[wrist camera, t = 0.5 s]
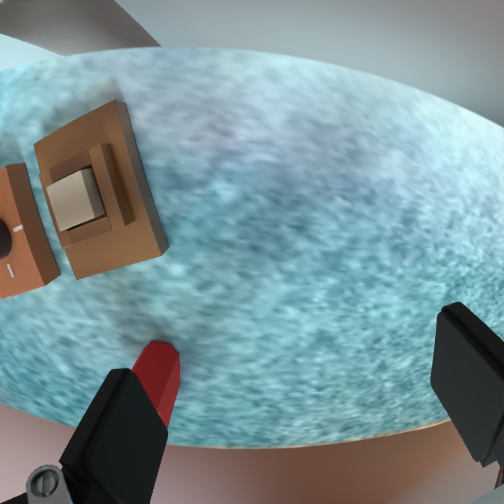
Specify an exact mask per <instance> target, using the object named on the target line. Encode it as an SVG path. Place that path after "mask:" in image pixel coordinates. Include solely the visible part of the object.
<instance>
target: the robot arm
mask: <svg viewBox="0 0 504 504" xmlns="http://www.w3.org/2000/svg"><path fill="white" fill-rule="evenodd" d="M430 382H431V386H432V388H433V390H434V392H435V393H436V395H437V397H438V398H439V400H440V402H441V403H442V405H443V407H444V408H445V410H446V412H447V413H448V415H449V417H450V418H451V420H452V422H453V424H454V425H455V427H456V429H457V430H458V432H459V434H460V435H461V438H462V439H463V441H464V443H465V445H466V447H467V448H468V450H469V452H470V453H471V456H472V457H473V459H474V460H475V461H476V462H479V461H480V463H481V465H482V467H483V468H484V467H486V466H487V465H489V464H491V463H493V462H495V461H496V460H497V461H498V463H499V465H500V470H499V473H498V477H497V481H496V485H495V488H494V490H492V491H490V492H489V493H487V494H485V495H483V496H481V497H479V498H477V499H475V500H473V501H471V502H469V503H467V504H504V341H503V340H502V339H501V338H499V337H498V336H497V335H496V334H495V333H494V332H493V331H492V330H491V329H490V328H489V327H488V326H487V325H486V324H485V323H484V322H482V321H481V320H480V319H479V318H478V317H477V316H476V315H475V314H474V313H473V312H471V311H470V310H469V309H468V308H467V307H466V306H465V305H464V304H462V303H461V302H455V303H452V304H449V305H446V306H444V307H442V309H441V312H440V313H438V315H437V325H436V336H435V346H434V355H433V363H432V370H431V377H430ZM167 439H168V430H167V427H166V426H165V424H164V422H163V421H162V419H161V417H160V416H159V414H158V412H157V410H156V409H155V407H154V405H153V403H152V402H151V400H150V398H149V396H148V394H147V393H146V391H145V389H144V387H143V385H142V383H141V382H140V380H139V378H138V376H137V374H136V373H134V372H132V371H131V370H130V369H128V368H121V369H112V370H111V371H110V372H109V374H108V375H107V377H106V379H105V380H104V382H103V384H102V385H101V387H100V389H99V390H98V392H97V394H96V395H95V397H94V399H93V400H92V402H91V404H90V406H89V407H88V409H87V411H86V413H85V414H84V416H83V418H82V420H81V421H80V423H79V425H78V427H77V428H76V430H75V432H74V434H73V436H72V438H71V439H70V441H69V443H68V445H67V447H66V448H65V451H64V452H63V454H62V456H61V458H60V460H59V462H60V463H61V464H62V466H63V467H62V469H61V470H60V469H59V468H58V467H57V466H53V465H44V466H41V467H39V468H37V469H35V470H34V471H33V472H32V473H31V474H30V476H29V478H28V480H27V483H26V493H23V494H21V495H19V496H17V497H14V498H12V499H10V500H7V501H5V502H3V503H0V504H150V500H151V496H152V493H153V489H154V485H155V481H156V478H157V474H158V471H159V467H160V463H161V459H162V456H163V452H164V449H165V446H166V442H167Z"/></svg>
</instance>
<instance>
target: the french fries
mask: <svg viewBox="0 0 504 504" xmlns="http://www.w3.org/2000/svg"><path fill="white" fill-rule="evenodd" d="M131 371H132V372H134V373H136V374H137V376H138V378H139V380H140V382H141V383H142V385H143V387H144V389H145V391H146V393H147V394H148V396H149V398H150V400H151V402H152V403H153V405H154V407H155V409H156V410H157V412H158V414H159V416H160V417H161V419H162V421H163V422H164V424H165V426H166V427H167V428H168V425H169V421H170V418H171V414H172V410H173V407H174V403H175V400H176V396H177V393H178V389H179V386H180V361H179V354H178V353H177V352H176V350H175V349H174V348H173V347H172V346H171V345H170V344H167V343H161V342H155V341H151V342H150V343H149V344H148V345H147V346H146V347H145V348H144V350H143V352H142V353H141V355H140V356H139V358H138V360H137V361H136V363H135V365H134V366H133V368H132V370H131Z"/></svg>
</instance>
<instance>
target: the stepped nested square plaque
mask: <svg viewBox="0 0 504 504" xmlns="http://www.w3.org/2000/svg"><path fill="white" fill-rule="evenodd" d="M34 148H35V153H36V157H37V161H38V165H39V169H40V173H41V174H40V175H39V177H40V180H41V184H42V188H43V191H44V195H45V198H46V201H47V205H48V208H49V211H50V214H51V217H52V220H53V224H54V226H55V229H56V232H57V235H58V238H59V241H60V244H61V246H62V249H65V252H66V255H67V257H68V260H69V262H70V265H71V267H72V270H73V272H74V275H75V277H76V279H77V280H79V279H82V278H85V277H89V276H92V275H96V274H99V273H103V272H106V271H110V270H113V269H116V268H120V267H123V266H127V265H131V264H134V263H138V262H141V261H145V260H148V259H152V258H155V257H159V256H162V255H163V254H164V253H165V251H166V250H167V249H168V248H169V246H168V243H167V240H166V238H165V235H164V232H163V229H162V226H161V223H160V220H159V217H158V214H157V211H156V208H155V204H154V201H153V198H152V195H151V192H150V189H149V185H148V182H147V179H146V175H145V172H144V169H143V165H142V162H141V159H140V155H139V152H138V148H137V144H136V141H135V137H134V134H133V130H132V126H131V122H130V118H129V115H128V111H127V107H126V104H125V103H122V102H119V101H116V100H114V101H112V102H110V103H108V104H106V105H103V106H101V107H99V108H97V109H95V110H93V111H91V112H89V113H88V114H86V115H84V116H82V117H80V118H78V119H76V120H74V121H73V122H71V123H69V124H67V125H65V126H64V127H62V128H60V129H58V130H57V131H55V132H53V133H52V134H50V135H48V136H47V137H45V138H43V139H42V140H40V141H38V142H37V143H35V144H34ZM90 168H92V171H93V174H94V178H95V181H96V184H97V188H98V191H99V194H100V197H101V201H102V204H103V207H104V210H105V213H104V214H102V215H99V216H97V217H95V218H92V219H90V220H87V221H85V222H82V223H80V224H77V225H75V226H72V227H70V228H67V229H65V230H63V231H60V230H59V227H58V224H57V221H56V218H55V215H54V212H53V209H52V206H51V202H50V199H49V196H48V192H47V189H46V187H47V186H49V185H51V184H53V183H55V182H57V181H59V180H61V179H63V178H65V177H67V176H69V175H71V174H73V173H75V172H77V171H79V170H84V169H90Z"/></svg>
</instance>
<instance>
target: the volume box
mask: <svg viewBox="0 0 504 504" xmlns="http://www.w3.org/2000/svg"><path fill="white" fill-rule="evenodd" d="M0 220H2V221H3V222H4V223H5V224H6V225H7V227H8V229H9V232H10V235H11V240H12V246H11V251H10V253H9V255H8V256H7V257H5V258H3V259H1V260H0V297H1V299H6V298H9V297H12V296H15V295H18V294H21V293H24V292H28V291H31V290H34V289H37V288H40V287H44V286H46V285H47V284H48V283H50V282H51V281H53V280H54V279H55V278H57V277H58V276H60V275H61V274H60V272H59V269H58V267H57V264H56V261H55V259H54V256H53V254H52V251H51V248H50V246H49V243H48V240H47V237H46V234H45V232H44V229H43V226H42V223H41V219H40V216H39V213H38V210H37V207H36V203H35V200H34V197H33V193H32V189H31V186H30V182H29V178H28V174H27V170H26V166H25V163H22V164H15V165H8V166H5V167H4V168H2V169H1V170H0Z"/></svg>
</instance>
